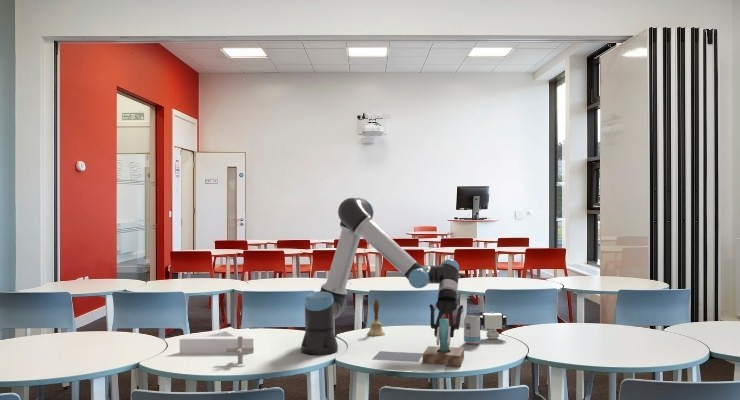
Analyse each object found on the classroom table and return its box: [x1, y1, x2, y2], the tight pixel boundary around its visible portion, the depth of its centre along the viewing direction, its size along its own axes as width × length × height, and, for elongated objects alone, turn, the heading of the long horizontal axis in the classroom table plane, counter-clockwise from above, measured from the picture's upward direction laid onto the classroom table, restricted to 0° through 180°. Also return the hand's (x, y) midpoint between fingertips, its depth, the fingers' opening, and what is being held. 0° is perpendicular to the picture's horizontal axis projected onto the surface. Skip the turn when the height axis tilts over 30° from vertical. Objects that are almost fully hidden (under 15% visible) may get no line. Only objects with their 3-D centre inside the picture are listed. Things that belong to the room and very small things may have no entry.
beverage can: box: [463, 314, 481, 346], centre depth 273 cm, size 7×7×12 cm
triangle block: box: [179, 326, 254, 354], centre depth 271 cm, size 30×26×6 cm
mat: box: [371, 350, 424, 363], centre depth 248 cm, size 18×14×1 cm
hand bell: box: [366, 299, 386, 337], centre depth 294 cm, size 8×8×16 cm
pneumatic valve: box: [478, 311, 508, 340], centre depth 283 cm, size 6×12×12 cm, turn 87°
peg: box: [439, 317, 450, 352], centre depth 241 cm, size 4×4×12 cm
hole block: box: [422, 345, 465, 368], centre depth 241 cm, size 14×14×4 cm
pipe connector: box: [227, 336, 255, 365], centre depth 241 cm, size 10×10×10 cm
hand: (443, 343), depth 238 cm, fingers closed on peg, 3 cm apart
